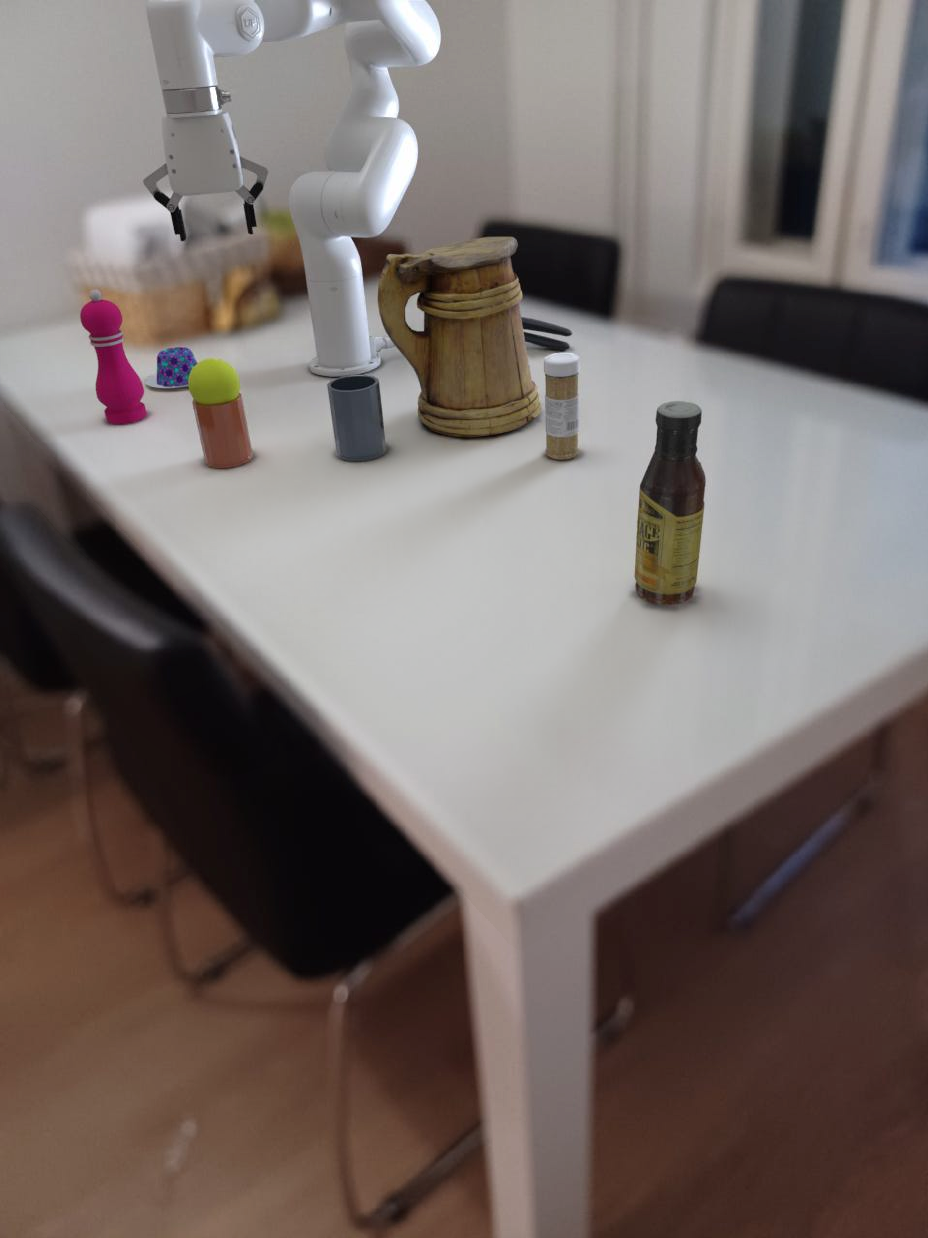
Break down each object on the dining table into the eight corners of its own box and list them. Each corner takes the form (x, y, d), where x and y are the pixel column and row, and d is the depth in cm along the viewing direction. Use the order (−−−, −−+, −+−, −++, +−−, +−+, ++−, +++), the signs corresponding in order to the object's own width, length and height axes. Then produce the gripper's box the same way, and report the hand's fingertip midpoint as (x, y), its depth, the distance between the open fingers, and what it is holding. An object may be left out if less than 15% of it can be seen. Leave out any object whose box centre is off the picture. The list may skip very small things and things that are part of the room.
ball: (233, 396, 136) (224, 348, 132) (251, 408, 131) (242, 359, 127) (187, 407, 133) (176, 359, 129) (203, 420, 128) (192, 371, 124)
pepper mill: (136, 426, 149) (103, 295, 139) (95, 425, 151) (59, 295, 140) (158, 410, 155) (127, 283, 145) (117, 409, 157) (85, 284, 146)
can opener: (475, 345, 176) (474, 314, 173) (494, 335, 181) (493, 305, 178) (561, 356, 167) (561, 323, 164) (579, 345, 172) (579, 313, 169)
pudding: (131, 389, 166) (123, 359, 163) (173, 368, 175) (166, 339, 172) (188, 394, 161) (181, 363, 159) (228, 372, 171) (222, 342, 168)
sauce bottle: (627, 580, 100) (634, 397, 90) (686, 575, 100) (700, 391, 90) (642, 613, 95) (652, 421, 84) (704, 607, 95) (721, 415, 84)
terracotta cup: (242, 446, 139) (231, 386, 135) (259, 460, 135) (248, 398, 130) (199, 458, 137) (186, 397, 132) (214, 472, 132) (201, 409, 127)
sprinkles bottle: (567, 445, 132) (567, 349, 125) (585, 456, 129) (586, 357, 122) (539, 452, 131) (537, 355, 124) (556, 463, 127) (555, 364, 120)
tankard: (564, 420, 141) (563, 241, 128) (421, 457, 132) (404, 269, 119) (502, 388, 155) (496, 223, 141) (369, 419, 146) (349, 247, 133)
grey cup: (372, 438, 139) (364, 371, 134) (395, 453, 134) (387, 383, 129) (328, 450, 136) (318, 382, 131) (350, 465, 131) (341, 395, 126)
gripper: (256, 96, 134) (275, 226, 143) (129, 106, 132) (158, 237, 141) (257, 99, 128) (278, 234, 137) (125, 110, 126) (155, 246, 135)
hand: (217, 236), depth 139 cm, fingers open, 9 cm apart
